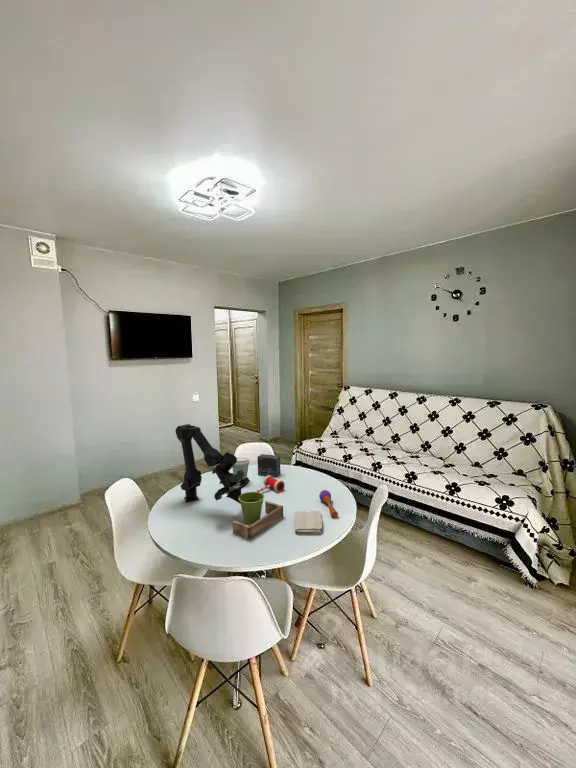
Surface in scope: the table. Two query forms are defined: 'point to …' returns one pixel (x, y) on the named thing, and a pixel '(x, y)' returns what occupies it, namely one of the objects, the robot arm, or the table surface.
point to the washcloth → (308, 523)
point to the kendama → (328, 502)
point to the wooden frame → (259, 522)
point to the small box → (268, 465)
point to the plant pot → (251, 506)
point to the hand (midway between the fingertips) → (242, 503)
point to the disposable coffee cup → (241, 466)
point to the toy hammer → (272, 484)
